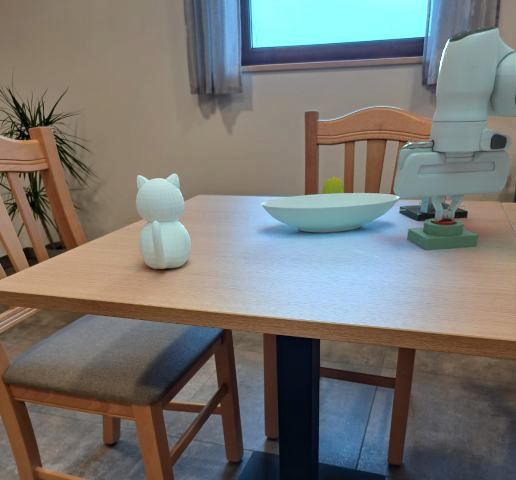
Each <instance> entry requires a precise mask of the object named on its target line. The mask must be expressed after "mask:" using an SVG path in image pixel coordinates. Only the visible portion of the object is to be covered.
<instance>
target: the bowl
mask: <svg viewBox="0 0 516 480" xmlns="http://www.w3.org/2000/svg"><path fill="white" fill-rule="evenodd" d="M399 200H400V197H398V196H397V195H396V194H391V193H390V194H389V193H376V192H375V193H374V192H353V193H352V192H344V193H337V194H322V193H320V194H319V193H318V194H306V195H295V196H287V197H279V198H278V197H277V198H272V199H268V200H265V201H262V202H261V206H262V208H263V209H264V210H265V211H266V212H267V213H268V214H269V215H270V216H271V218H273V219H274V220H276V221H278V222H280V223H282V224H285V225H286V226H290V227H293V228H296V229H298V231H300V232H306V233H339V232H346V231H353V230H357V229H360V228H361V227H362V226H363V225H365V224H369V223H371V222H374V221H375V220H377V219H379V218H380V217H382V216H384V215H385V214H387V213H388V212H389V211H390V210H391V209H392V208H393V207H394V206H395V205H396V203H398V201H399Z"/></svg>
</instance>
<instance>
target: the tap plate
mask: <svg viewBox="0 0 516 480" xmlns="http://www.w3.org/2000/svg"><path fill="white" fill-rule="evenodd" d="M416 203H417V204H415V205H413V204H412V205H400V206H399V213H400V214H402V215H403V216H405V217H408V218H410V219H412V220H415V221H416V222H425V220H427V219H432V218H435V213H436V210H433V211H431V212H429V213H420V209H421V202H420V201H416ZM449 205H450V204H449V203H446V202H445V205H443V206H442V207H443V209H447V208H448V207H449ZM464 207H466V205H460V206H459V207H458V208H457V210H456V211H455V215H454V219H466V218H468V215H469V211H468V210H465V209H463V208H464Z"/></svg>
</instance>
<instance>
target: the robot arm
mask: <svg viewBox="0 0 516 480" xmlns="http://www.w3.org/2000/svg"><path fill="white" fill-rule="evenodd" d="M435 98H436V107H435V111H434V114H433V117H432V120H431V127H430V134H429V140H422V141H408V142H406V144H404V145H403V146H402V147H400V149H399V150H398V154H397V163H396V164H397V169H396V172H395V176H394V183H393V189H392V190H393V193H394V195H396V196H398V197H399V198H401V199H414V198H415V199H417V198H418V199H419V198H422V197H432V200H431V201H432V203H433V206H434V208H435V210H436V213H435V220H437V221H444V220H453V219H454V215H455V211H456V210H457V208H460V207H459V206H461V205H462V203H463V202H464V196H467V195H468V196H469V195H482V194H485V195H486V194H497V193H501V192H502V191H503V190H504V189H505V187H506V185H507V181H508V176H509V170H510V159H511V158H510V155H509V153H508V150H509V149H511V146H512V142H513V138H512V136H510V135H508V134H505V133H502V132H499V131H496V130H494V129H490V128H488V127H487V125H488V120H489V117H502V118H516V49H514V48H512V47H510V46H509V45H507V44H506V43H505V42H504V40H503V39H502V37H501V36H500V29H499V28H498V26H494V25H488V26H482V27H476V28H473V29H468V30H464V31H460V32H457V33H454V34H453V35H452V36H451V37H450V38H449V39H448V40H447V42H446V44H445V47H444V49H443V52H442V56H441V60H440V64H439V69H438V74H437V81H436V90H435ZM445 196H446V197H449V196H450V197H449V199H450V200H451V202H449V203H450V204H449V207H448V208H447V209H443V207H442V204H441V202H444V199H445Z"/></svg>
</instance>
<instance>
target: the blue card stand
mask: <svg viewBox="0 0 516 480" xmlns="http://www.w3.org/2000/svg"><path fill="white" fill-rule="evenodd" d="M431 200H432V197H421V202H420V205H421V209H420V213H429V212H431V211H433V210H435V208H434V206H433V203H432V201H431ZM446 200H447V196H445V199H444V202H441V204H442V206H443V205H445V203H446Z"/></svg>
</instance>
